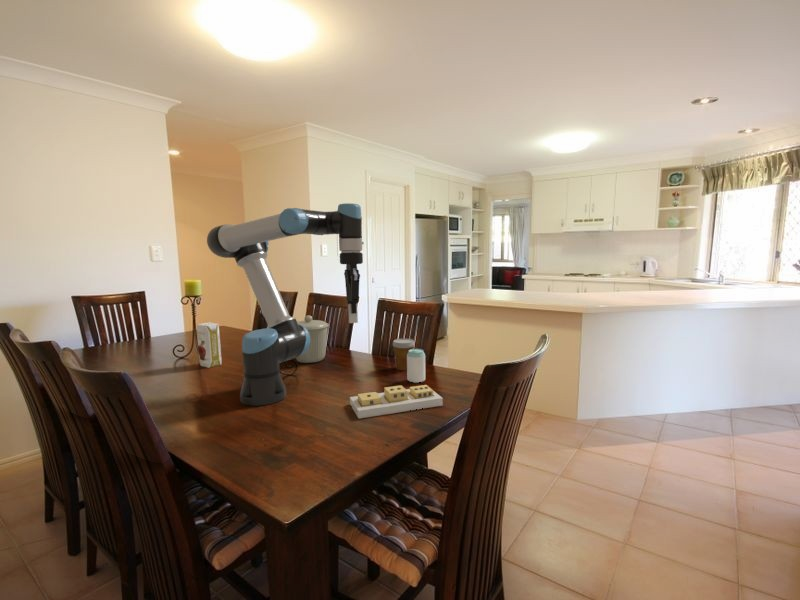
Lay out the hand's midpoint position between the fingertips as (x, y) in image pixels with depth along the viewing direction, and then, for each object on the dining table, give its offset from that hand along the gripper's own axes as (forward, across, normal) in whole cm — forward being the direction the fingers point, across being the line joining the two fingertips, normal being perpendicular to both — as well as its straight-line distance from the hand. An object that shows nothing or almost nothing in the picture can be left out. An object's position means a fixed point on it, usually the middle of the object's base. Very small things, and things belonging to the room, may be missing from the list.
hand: (353, 322), depth 135 cm
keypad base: (+26, -11, -11) cm, 31 cm away
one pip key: (+26, -11, -2) cm, 28 cm away
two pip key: (+25, -11, -11) cm, 29 cm away
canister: (+27, +54, +9) cm, 61 cm away
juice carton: (+27, +63, +52) cm, 86 cm away
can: (+27, +9, -26) cm, 38 cm away
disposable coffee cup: (+27, +26, -27) cm, 46 cm away
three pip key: (+26, -11, -20) cm, 34 cm away
